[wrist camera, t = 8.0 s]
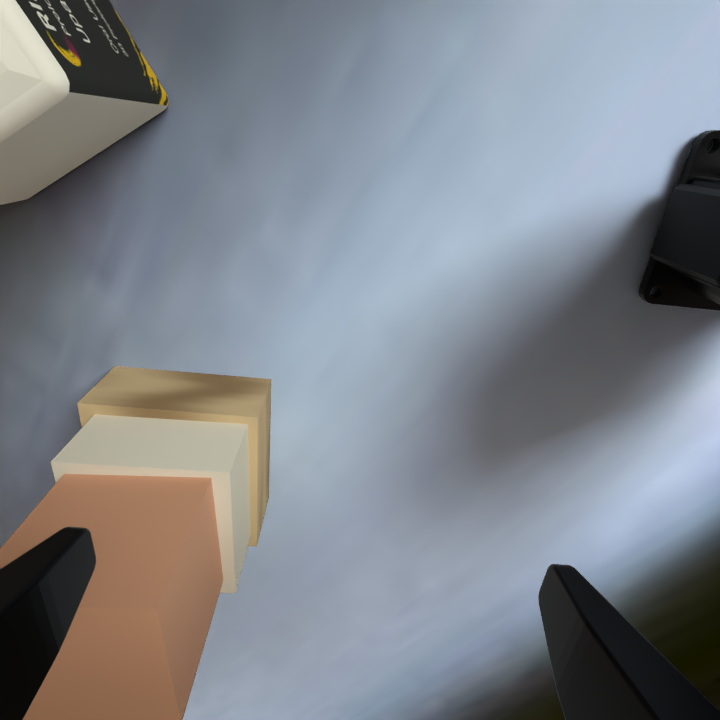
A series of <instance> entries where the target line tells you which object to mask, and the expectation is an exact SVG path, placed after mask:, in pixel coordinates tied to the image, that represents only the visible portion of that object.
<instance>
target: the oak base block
mask: <svg viewBox="0 0 720 720" xmlns="http://www.w3.org/2000/svg"><path fill="white" fill-rule="evenodd" d="M77 404H78V410H79V415H80V421H81V426H82V428H83V427H84V425H85V424H86V423H87V422H88V421H89V420H90V419H91V418H92V417H93V416H94V415H111V416H127V417H142V418H158V419H174V420H190V421H205V422H221V423H237V424H248V449H249V490H250V531H251V536H250V540H249V544H248V546H257V544H258V540H259V535H260V531H261V527H262V523H263V519H264V515H265V510H266V506H267V502H268V498H269V459H270V415H271V379H262V378H250V377H238V376H226V375H214V374H202V373H190V372H179V371H167V370H155V369H143V368H131V367H119V366H115V367H114V368H113V369H112V370H111V371H110V372H109V373H108V374H107V375H106V376H105V377H104V378H103V379H102V380H101V381H99V382H98V383H97V384H96V385H95V386H94V387H93V388H92V389H91V390H90V391H89V392H88V393H87V394H86V395H85V396H84V397H83V398H82V399H81V400H80V401H79V402H78V403H77Z"/></svg>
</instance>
